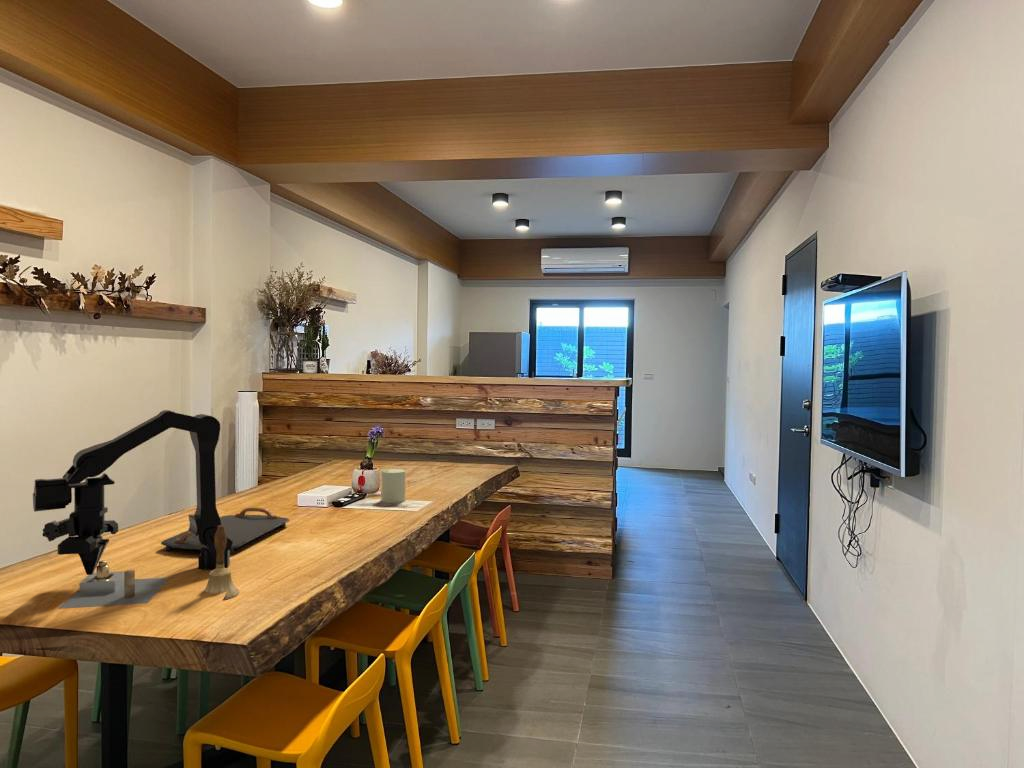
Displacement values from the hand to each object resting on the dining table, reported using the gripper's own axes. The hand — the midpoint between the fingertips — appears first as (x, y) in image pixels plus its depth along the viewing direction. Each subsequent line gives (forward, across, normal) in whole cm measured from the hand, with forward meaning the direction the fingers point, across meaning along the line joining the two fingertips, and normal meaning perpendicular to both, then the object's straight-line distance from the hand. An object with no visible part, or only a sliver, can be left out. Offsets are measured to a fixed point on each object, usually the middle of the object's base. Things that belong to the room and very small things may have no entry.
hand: (89, 574), depth 150 cm
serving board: (+5, -46, +22) cm, 51 cm away
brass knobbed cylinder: (+3, 0, +3) cm, 4 cm away
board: (+5, +4, +7) cm, 9 cm away
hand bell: (+5, +5, +28) cm, 29 cm away
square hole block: (+3, 0, +3) cm, 4 cm away
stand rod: (+3, +7, +10) cm, 13 cm away
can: (+5, -91, +73) cm, 117 cm away
